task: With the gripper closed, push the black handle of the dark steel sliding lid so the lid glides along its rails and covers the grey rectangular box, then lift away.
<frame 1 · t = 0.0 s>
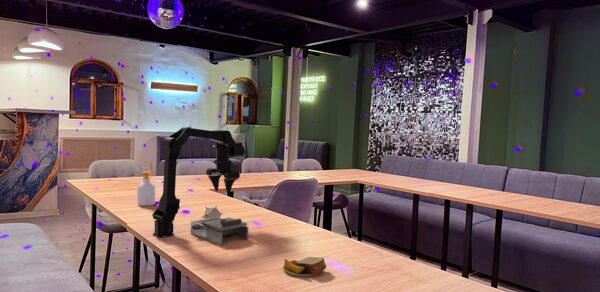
hand: (222, 192, 189), 15 cm above the table, tool pointing down, fingers open, 9 cm apart
lid: (224, 221, 167), point 7 cm above the table, slide at 9.0 cm
soap bottle: (146, 204, 229), on the table
toy sandwich meal: (304, 272, 134), on the table
game die: (212, 224, 190), on the table
grey rectangular box: (212, 233, 173), on the table
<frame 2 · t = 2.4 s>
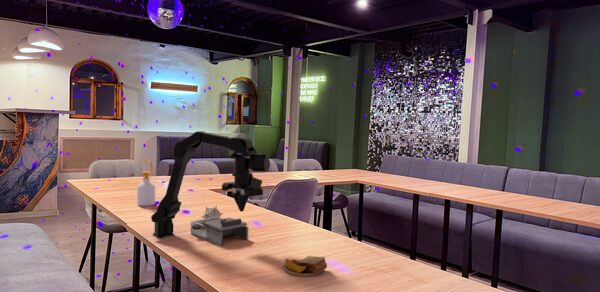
hand: (241, 211, 158), 13 cm above the table, tool pointing down, fingers closed
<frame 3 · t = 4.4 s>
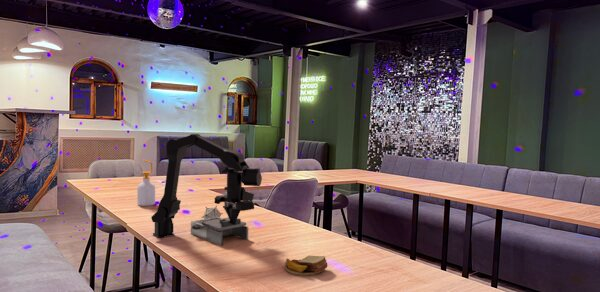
hand: (233, 224, 162), 7 cm above the table, tool pointing down, fingers closed
lid: (224, 221, 167), point 7 cm above the table, slide at 8.5 cm, touching gripper
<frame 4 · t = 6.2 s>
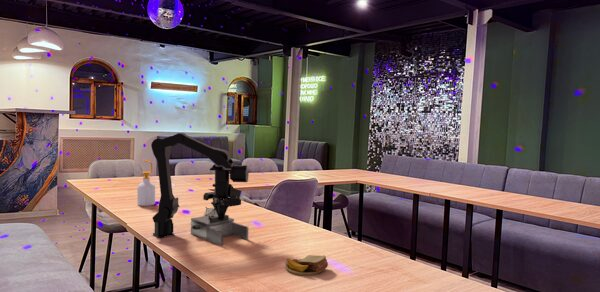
hand: (221, 220, 168), 7 cm above the table, tool pointing down, fingers closed
lid: (212, 217, 173), point 7 cm above the table, slide at 0.3 cm, touching gripper
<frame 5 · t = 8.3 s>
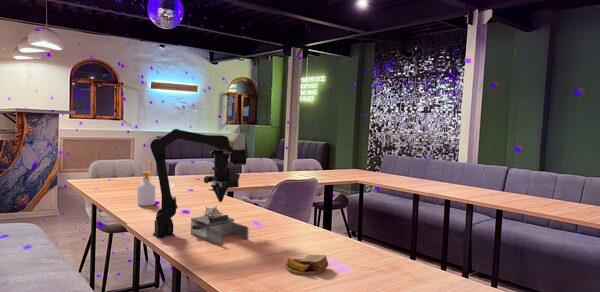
hand: (220, 201, 176), 13 cm above the table, tool pointing down, fingers closed
lid: (212, 217, 173), point 7 cm above the table, slide at 0.2 cm
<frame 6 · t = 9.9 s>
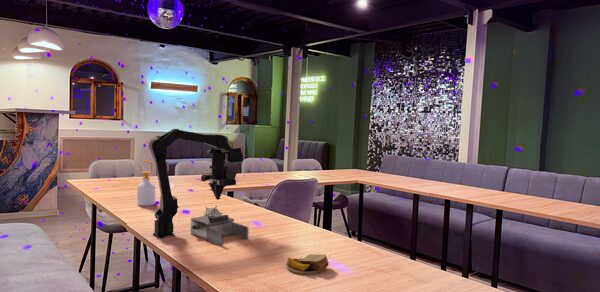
hand: (217, 199, 180), 13 cm above the table, tool pointing down, fingers closed
at the end: lid slide at 0.2 cm; lid touching nothing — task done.
